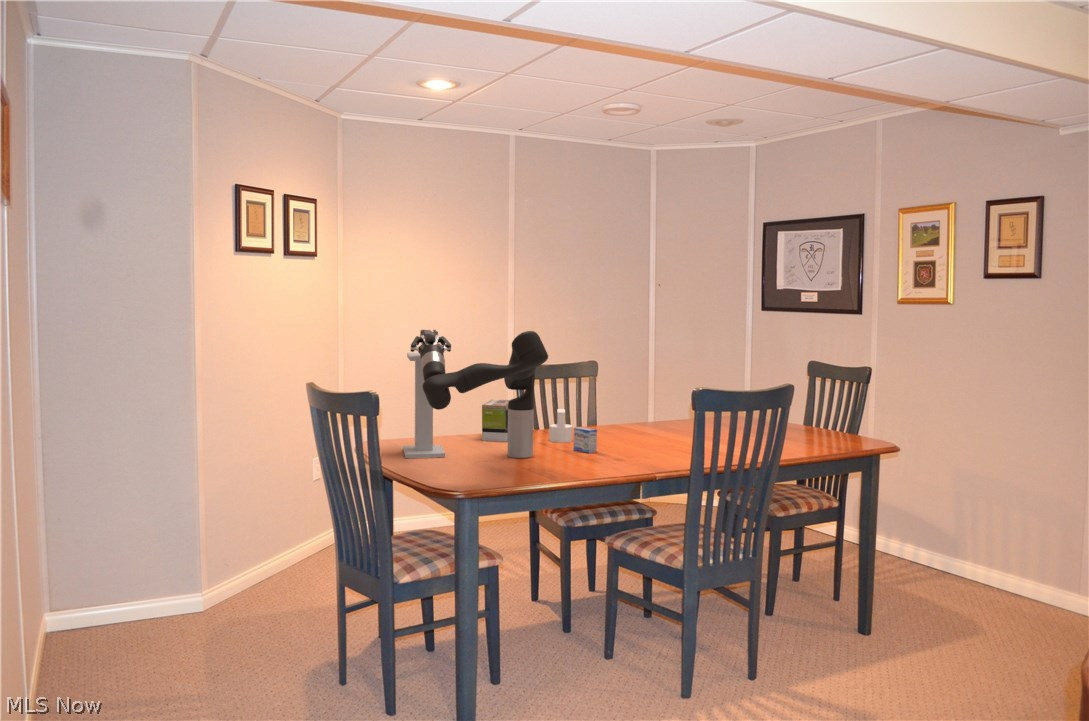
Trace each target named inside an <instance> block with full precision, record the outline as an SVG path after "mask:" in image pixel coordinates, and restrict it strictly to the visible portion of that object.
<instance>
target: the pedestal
mask: <svg viewBox="0 0 1089 721" xmlns="http://www.w3.org/2000/svg"><path fill="white" fill-rule="evenodd" d="M406 356H407V358H408V360H409V361H410V362H414V445H403V446H402V451H404V452H403V455H404V458H409V459H436V458H437V459H439V458H438V457H445V458H446V451H445V450H444V449H443V447H442V444H434V408H432V407H431V406H430V404H429V402H428V400H427V398H426V395H425V393H424V391H423V383H424V382H425V381H424V377H423V370H422V366H421V358H420V353H419V352H407V355H406Z"/></svg>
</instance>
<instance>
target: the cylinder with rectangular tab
mask: <svg viewBox="0 0 1089 721" xmlns="http://www.w3.org/2000/svg"><path fill="white" fill-rule="evenodd" d="M556 414H557V417H556V420H557V422H556V423H554V424H553V423H552V424H550V425H549V435H548V436H549V437H548V438H549V442H551V443H559V444H563V443H564V444H567V443H571V442H572V441H573V425H571V424H567V423H566V409H564V408H557V413H556Z"/></svg>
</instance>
